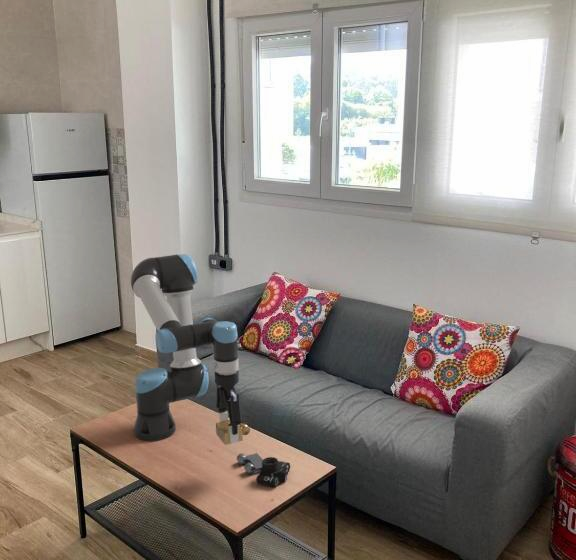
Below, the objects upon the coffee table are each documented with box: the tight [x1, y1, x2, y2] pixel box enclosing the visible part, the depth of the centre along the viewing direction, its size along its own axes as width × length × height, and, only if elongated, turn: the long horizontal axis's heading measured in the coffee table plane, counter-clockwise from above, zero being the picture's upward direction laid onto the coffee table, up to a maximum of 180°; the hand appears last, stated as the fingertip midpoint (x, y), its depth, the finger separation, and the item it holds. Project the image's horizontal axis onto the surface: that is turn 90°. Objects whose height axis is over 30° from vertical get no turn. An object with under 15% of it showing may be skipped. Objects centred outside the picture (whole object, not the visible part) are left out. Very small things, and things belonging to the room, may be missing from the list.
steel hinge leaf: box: [236, 452, 263, 476], centre depth 213 cm, size 8×9×3 cm
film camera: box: [255, 456, 291, 487], centre depth 207 cm, size 13×8×10 cm
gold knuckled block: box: [215, 419, 251, 446], centre depth 208 cm, size 10×8×4 cm
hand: (229, 436), depth 207 cm, fingers closed on gold knuckled block, 8 cm apart
